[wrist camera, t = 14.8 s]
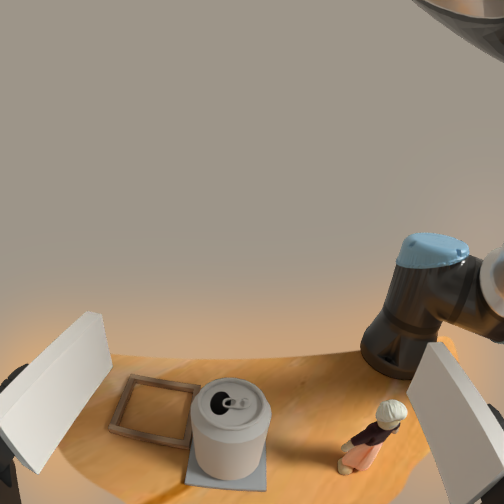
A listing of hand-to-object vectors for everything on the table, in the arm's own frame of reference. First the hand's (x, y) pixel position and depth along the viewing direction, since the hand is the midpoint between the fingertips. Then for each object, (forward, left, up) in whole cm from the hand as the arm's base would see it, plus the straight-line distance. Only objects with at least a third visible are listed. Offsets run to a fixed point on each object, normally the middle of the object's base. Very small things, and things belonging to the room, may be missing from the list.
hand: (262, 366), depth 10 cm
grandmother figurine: (-15, -8, -26) cm, 31 cm away
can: (+1, -9, -25) cm, 27 cm away
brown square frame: (+11, -15, -26) cm, 32 cm away
